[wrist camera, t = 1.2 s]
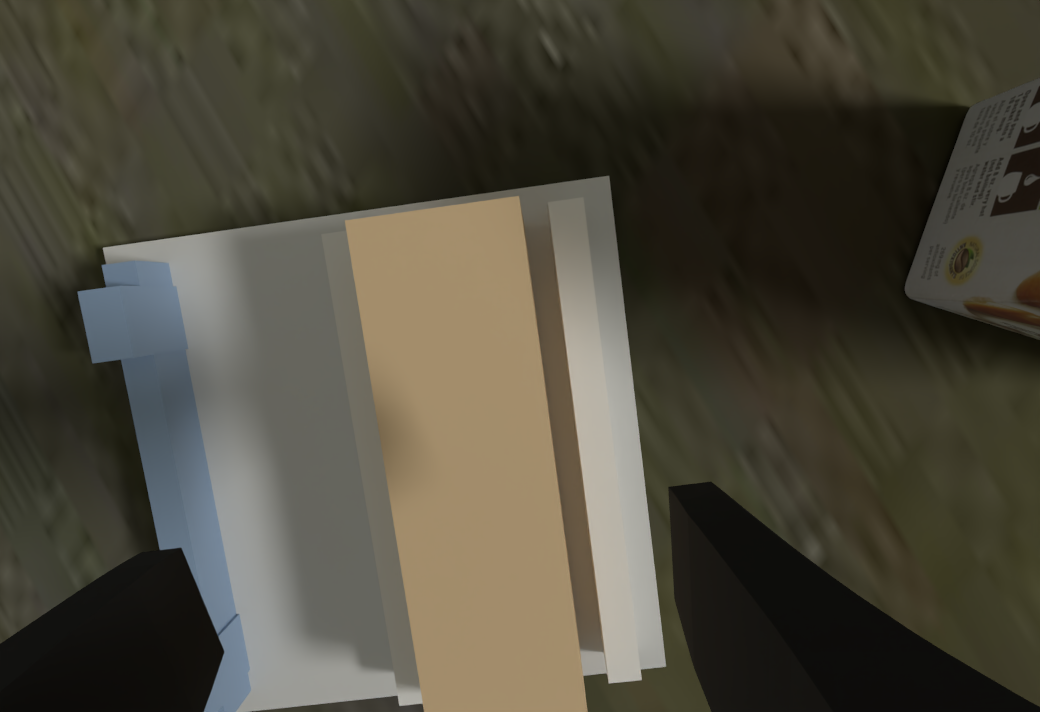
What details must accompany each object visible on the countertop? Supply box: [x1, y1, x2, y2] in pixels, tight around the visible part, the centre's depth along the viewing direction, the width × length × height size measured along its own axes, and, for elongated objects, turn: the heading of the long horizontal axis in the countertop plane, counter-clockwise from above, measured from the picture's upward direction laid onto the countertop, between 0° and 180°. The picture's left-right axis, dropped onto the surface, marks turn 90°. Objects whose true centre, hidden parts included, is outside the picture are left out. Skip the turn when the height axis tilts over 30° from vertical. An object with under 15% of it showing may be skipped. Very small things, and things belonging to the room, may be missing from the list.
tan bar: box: [345, 196, 587, 712], centre depth 17 cm, size 14×4×5 cm, turn 8°
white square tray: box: [78, 176, 666, 712], centre depth 18 cm, size 16×16×3 cm
